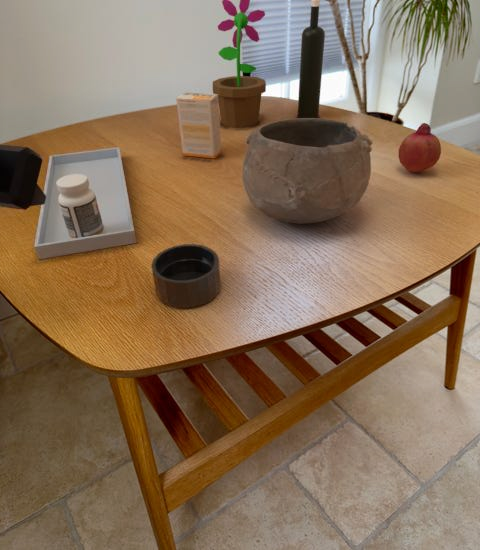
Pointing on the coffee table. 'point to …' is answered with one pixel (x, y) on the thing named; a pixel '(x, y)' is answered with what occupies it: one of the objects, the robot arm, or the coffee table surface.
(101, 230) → the pill bottle
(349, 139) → the clay pot
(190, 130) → the supplement box
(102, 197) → the serving dish
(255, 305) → the coffee table surface
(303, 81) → the wine bottle
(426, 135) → the fruit
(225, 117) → the flowerpot
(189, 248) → the charcoal bowl
